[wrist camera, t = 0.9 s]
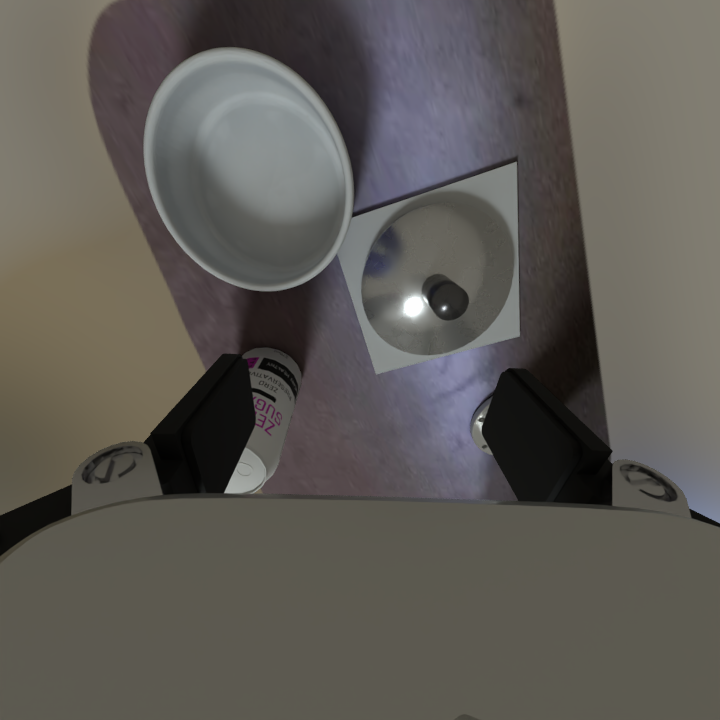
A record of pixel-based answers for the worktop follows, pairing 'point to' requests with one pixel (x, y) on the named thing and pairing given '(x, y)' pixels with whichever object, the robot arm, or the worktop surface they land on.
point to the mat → (480, 192)
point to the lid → (437, 278)
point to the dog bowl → (248, 169)
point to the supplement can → (266, 417)
